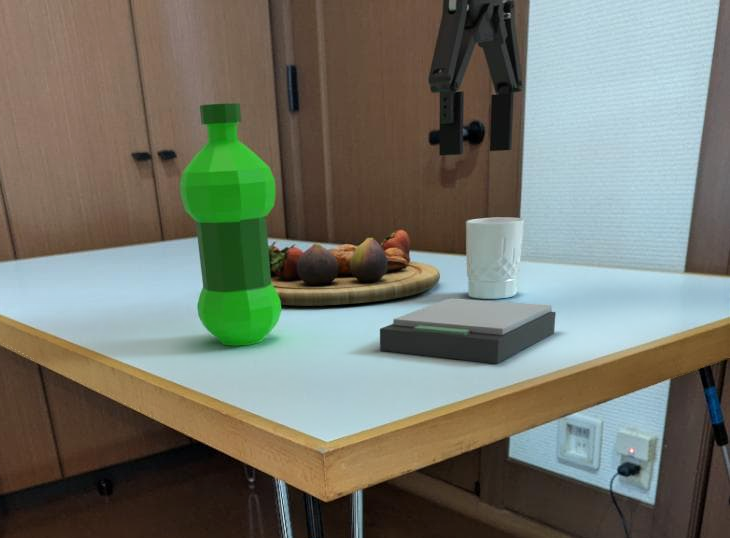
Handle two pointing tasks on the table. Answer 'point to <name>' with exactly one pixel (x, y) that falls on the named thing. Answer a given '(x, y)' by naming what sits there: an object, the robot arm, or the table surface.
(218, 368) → the table surface
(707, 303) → the table surface
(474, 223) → the white cup
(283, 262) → the wooden plate
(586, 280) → the table surface
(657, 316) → the table surface
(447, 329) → the kitchen scale
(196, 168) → the plastic bottle
